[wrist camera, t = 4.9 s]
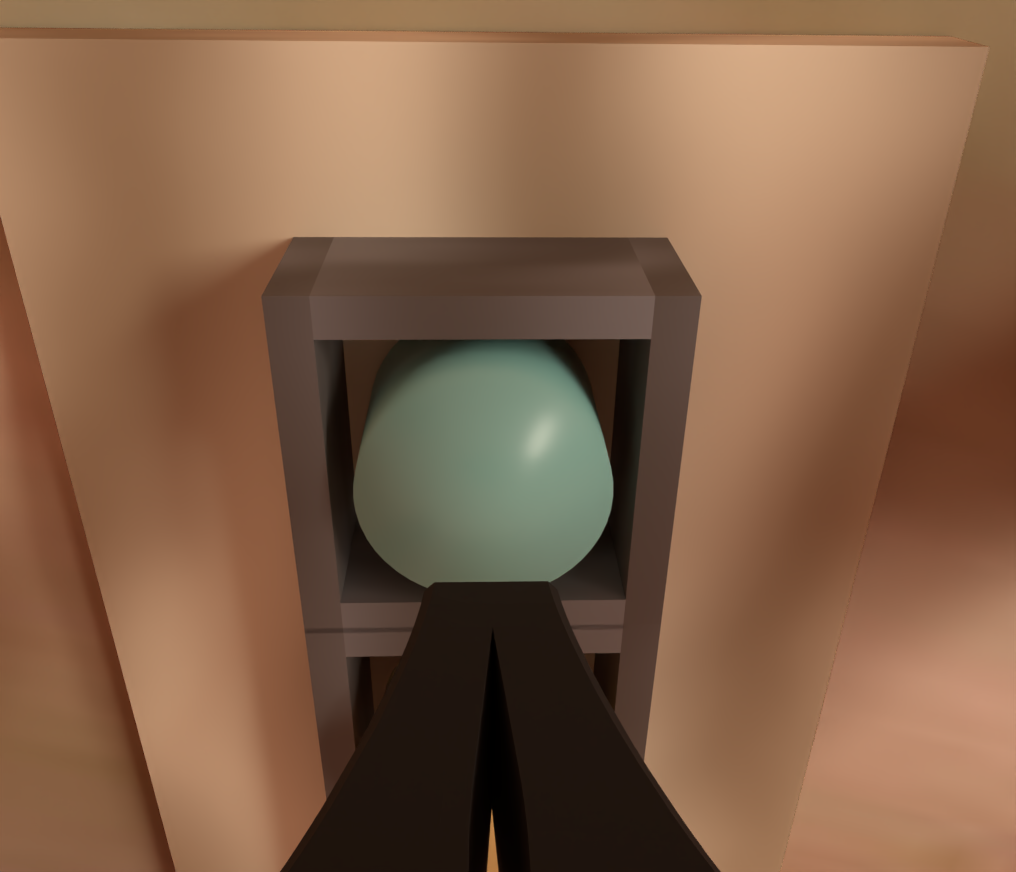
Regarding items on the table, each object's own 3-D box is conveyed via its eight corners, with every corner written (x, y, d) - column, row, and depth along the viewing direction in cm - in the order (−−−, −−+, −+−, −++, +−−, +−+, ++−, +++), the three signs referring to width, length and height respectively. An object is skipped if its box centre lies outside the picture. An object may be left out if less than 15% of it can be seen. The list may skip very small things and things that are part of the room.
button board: (950, 36, 14) (1090, 74, 11) (754, 877, 24) (797, 1024, 21) (-7, 27, 13) (-155, 65, 10) (205, 890, 23) (163, 1042, 20)
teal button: (599, 306, 14) (622, 380, 12) (586, 502, 16) (605, 596, 14) (363, 307, 14) (343, 381, 12) (377, 504, 16) (362, 599, 14)
